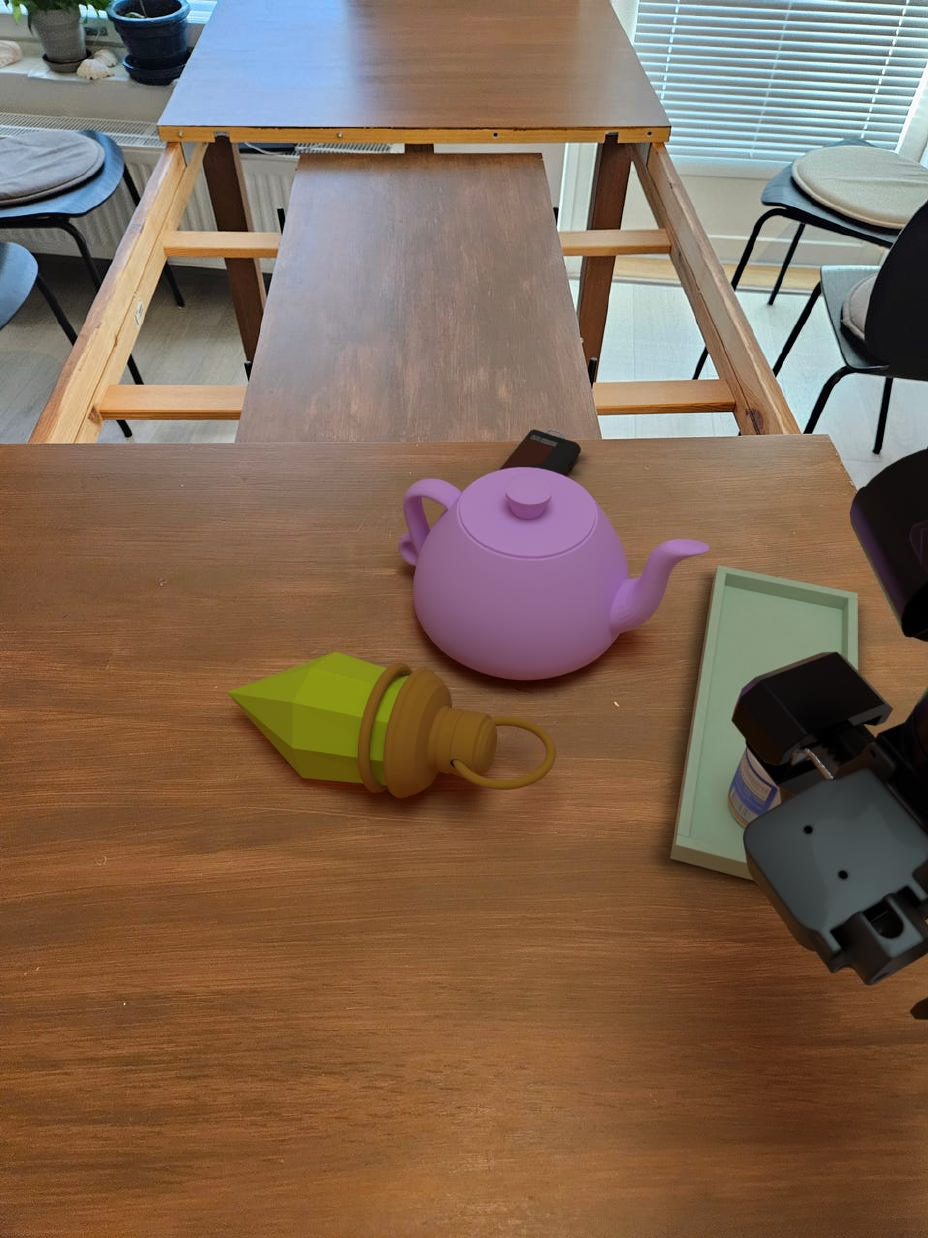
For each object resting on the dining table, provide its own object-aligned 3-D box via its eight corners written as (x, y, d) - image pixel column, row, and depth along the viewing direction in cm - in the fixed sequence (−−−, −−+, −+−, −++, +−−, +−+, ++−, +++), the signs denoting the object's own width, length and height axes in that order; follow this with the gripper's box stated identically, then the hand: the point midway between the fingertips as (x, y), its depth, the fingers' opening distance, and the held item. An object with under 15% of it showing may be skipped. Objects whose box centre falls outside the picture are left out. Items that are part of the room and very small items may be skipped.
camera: (589, 442, 87) (541, 509, 81) (584, 464, 89) (537, 530, 83) (531, 419, 89) (480, 483, 82) (528, 441, 91) (477, 504, 85)
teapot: (349, 639, 73) (332, 512, 63) (445, 511, 84) (444, 385, 74) (640, 751, 66) (674, 628, 56) (705, 595, 77) (743, 469, 67)
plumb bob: (203, 779, 65) (534, 860, 57) (176, 678, 60) (536, 753, 52) (266, 704, 72) (569, 768, 64) (248, 609, 67) (573, 666, 59)
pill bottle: (805, 783, 64) (850, 701, 56) (804, 850, 60) (851, 771, 53) (728, 765, 65) (762, 682, 57) (722, 830, 61) (757, 750, 54)
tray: (848, 906, 58) (858, 892, 57) (670, 858, 60) (675, 844, 59) (850, 609, 76) (858, 593, 74) (712, 580, 78) (717, 564, 76)
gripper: (666, 629, 36) (615, 824, 47) (1034, 1100, 24) (848, 1205, 36) (885, 554, 39) (786, 754, 50) (1303, 941, 27) (1051, 1085, 39)
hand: (853, 922), depth 44 cm, fingers open, 9 cm apart
